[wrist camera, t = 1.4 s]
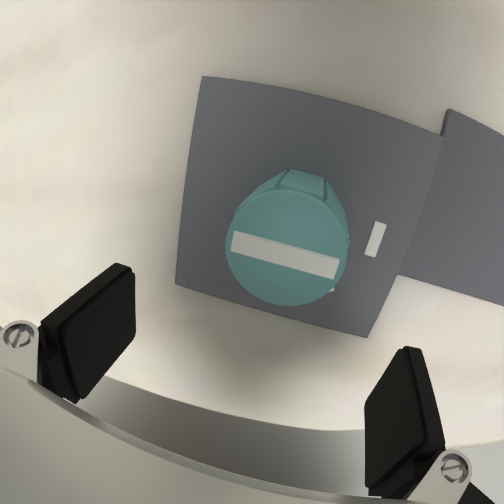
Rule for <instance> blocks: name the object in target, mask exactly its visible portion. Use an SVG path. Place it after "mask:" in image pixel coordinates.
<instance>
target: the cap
mask: <svg viewBox="0 0 504 504" xmlns="http://www.w3.org/2000/svg"><path fill="white" fill-rule="evenodd" d="M349 243H350V240H349V232H348V226H347V220H346V215H345V210H344V208H343V206H342V204H341V202H340V201H339V199H338V197H337V195H336V194H335V192H334V190H333V189H332V187H331V185H330V183H329V182H328V180H327V181H325V182H324V177H320V176H316V175H313V174H309V173H305V172H301V171H297V170H293V169H290V170H289V172H288V171H287V169H286V170H285V171H283V172H281V173H280V174H278V175H276V176H275V177H273V178H271V179H270V180H268V181H266V182H265V183H263V184H261V185H260V186H258V187H257V188H256V189H255V190H254V191H253V192H252V193H251V194H250V195H249V196H248V197H247V198H246V199H245V200H244V201H243V202H242V203H241V204H240V206H239V207H238V209H237V210H236V211H235V215H234V219H233V220H232V222H231V224H230V226H229V229H228V232H227V236H226V243H225V249H226V257H227V261H228V264H229V267H230V269H231V271H232V273H233V275H234V276H235V278H236V279H237V281H238V282H239V283H240V284H241V285H242V286H243V287H244V288H245V289H246V290H247V291H248V292H250V293H251V294H252V295H254V296H256V297H257V298H259V299H261V300H263V301H266V302H269V303H272V304H276V305H283V306H296V305H303V304H307V303H310V302H313V301H315V300H317V299H319V298H321V297H323V296H324V295H325V294H327V293H328V292H329V291H330V290H331V289H332V288H333V287H334V286H335V285H336V284H337V282H338V281H339V279H340V278H341V276H342V273H343V271H344V268H345V265H346V260H347V249H348V246H349Z"/></svg>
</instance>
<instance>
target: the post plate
mask: <svg viewBox="0 0 504 504" xmlns="http://www.w3.org/2000/svg"><path fill="white" fill-rule="evenodd" d="M443 138H444V137H442V136H440V135H437V134H435V133H433V132H430V131H428V130H425V129H423V128H420V127H417V126H415V125H412V124H409V123H407V122H404V121H401V120H398V119H396V118H393V117H390V116H387V115H384V114H381V113H378V112H375V111H371V110H368V109H365V108H362V107H358V106H355V105H352V104H348V103H344V102H341V101H337V100H333V99H329V98H326V97H322V96H317V95H313V94H309V93H305V92H300V91H296V90H291V89H286V88H281V87H276V86H270V85H265V84H259V83H253V82H247V81H240V80H233V79H225V78H217V77H208V76H202V79H201V85H200V90H199V95H198V101H197V107H196V113H195V119H194V125H193V131H192V137H191V144H190V151H189V158H188V165H187V172H186V180H185V188H184V196H183V204H182V213H181V223H180V232H179V243H178V254H177V266H176V278H175V284H177V285H180V286H183V287H186V288H189V289H192V290H195V291H199V292H202V293H205V294H208V295H211V296H215V297H218V298H221V299H225V300H228V301H231V302H234V303H238V304H241V305H245V306H248V307H251V308H255V309H258V310H262V311H265V312H269V313H272V314H276V315H279V316H283V317H287V318H290V319H294V320H298V321H301V322H305V323H309V324H313V325H316V326H320V327H324V328H328V329H332V330H336V331H340V332H344V333H348V334H352V335H356V336H360V337H364V338H367V337H368V335H369V333H370V331H371V329H372V327H373V325H374V323H375V321H376V319H377V317H378V315H379V313H380V311H381V309H382V307H383V305H384V302H385V300H386V298H387V296H388V294H389V292H390V289H391V287H392V285H393V283H394V280H395V278H396V276H397V273H398V271H399V269H400V266H401V264H402V261H403V259H404V257H405V254H406V252H407V249H408V246H409V244H410V241H411V239H412V236H413V233H414V231H415V228H416V225H417V223H418V220H419V217H420V214H421V211H422V208H423V206H424V203H425V200H426V197H427V193H428V190H429V187H430V184H431V181H432V178H433V174H434V171H435V168H436V164H437V161H438V157H439V153H440V150H441V146H442V142H443ZM286 169H287V171H288V172H289V170H290V169H293V170H297V171H301V172H305V173H309V174H313V175H316V176H320V177H324V182H325V181H327V180H328V182H329V183H330V185H331V187H332V189H333V190H334V192H335V194H336V195H337V197H338V199H339V201H340V202H341V204H342V206H343V208H344V210H345V215H346V220H347V226H348V232H349V240H350V243H349V246H348V249H347V260H346V265H345V268H344V271H343V273H342V276H341V278H340V279H339V281H338V282H337V284H336V285H335V286H334V287H333V288H332V289H331V290H330V291H329V292H328V293H327V294H325V295H324V296H323V297H321V298H319V299H317V300H315V301H313V302H310V303H307V304H303V305H296V306H283V305H276V304H272V303H269V302H266V301H263V300H261V299H259V298H257V297H256V296H254V295H252V294H251V293H250V292H248V291H247V290H246V289H245V288H244V287H243V286H242V285H241V284H240V283H239V282H238V281H237V279H236V278H235V276H234V275H233V273H232V271H231V269H230V267H229V264H228V261H227V257H226V249H225V243H226V236H227V232H228V229H229V226H230V224H231V222H232V220H233V219H234V215H235V211H236V210H237V209H238V207H239V206H240V204H241V203H242V202H243V201H244V200H245V199H246V198H247V197H248V196H249V195H250V194H251V193H252V192H253V191H254V190H255V189H256V188H257V187H258V186H260V185H261V184H263V183H265V182H266V181H268V180H270V179H271V178H273V177H275V176H276V175H278V174H280V173H281V172H283V171H285V170H286Z"/></svg>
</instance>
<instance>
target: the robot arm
mask: <svg viewBox="0 0 504 504" xmlns="http://www.w3.org/2000/svg"><path fill="white" fill-rule="evenodd" d="M135 334H136V316H135V274H134V273H133V272H132V269H131V268H130V267H128V266H125V265H122V264H119V263H114V264H113V265H111V266H110V267H109V268H107V269H106V270H105V271H104V272H102V273H101V274H100V275H98V276H97V277H96V278H94V279H93V280H92V281H90V282H89V283H88V284H87V285H85V286H84V287H83V288H81V289H80V290H79V291H78V292H76V293H75V294H74V295H73V296H71V297H70V298H69V299H68V300H66V301H65V302H64V303H63V304H61V305H60V306H59V307H58V308H56V309H55V310H54V311H53V312H51V313H50V314H49V315H48V316H47V317H45V318H44V319H43V320H42V321H41V325H40V326H39V327H38V328H37V327H36V325H34V324H33V323H31V322H29V321H23V320H20V321H14V322H12V323H9V324H8V325H6V326H5V327H4V328H3V329H2V331H1V333H0V504H495V503H494V502H492V500H490V499H489V498H488V497H487V496H486V495H485V494H483V493H482V492H481V491H480V490H479V489H478V488H477V487H475V486H474V485H473V484H472V483H471V482H470V479H471V476H472V466H471V463H470V461H469V460H468V458H467V457H466V456H465V455H464V454H463V453H461V452H459V451H457V450H453V449H451V450H446V449H445V439H444V434H443V429H442V425H441V420H440V416H439V412H438V408H437V404H436V400H435V396H434V392H433V388H432V384H431V381H430V377H429V374H428V370H427V367H426V363H425V360H424V357H423V354H422V351H421V349H419V348H414V347H409V346H405V347H403V349H399V350H398V351H397V352H396V354H395V355H394V357H393V359H392V360H391V362H390V364H389V365H388V367H387V369H386V370H385V372H384V374H383V375H382V377H381V378H380V380H379V381H378V383H377V385H376V386H375V388H374V389H373V391H372V392H371V394H370V395H369V397H368V398H367V400H366V402H365V406H364V416H365V486H366V487H368V488H369V493H368V495H369V496H381V498H369V497H358V496H348V495H339V494H332V493H323V492H317V491H311V490H305V489H299V488H294V487H289V486H283V485H278V484H274V483H270V482H265V481H261V480H257V479H253V478H249V477H245V476H242V475H238V474H234V473H231V472H228V471H224V470H221V469H218V468H215V467H211V466H208V465H205V464H202V463H199V462H197V461H194V460H191V459H188V458H185V457H182V456H180V455H177V454H175V453H172V452H169V451H167V450H165V449H162V448H160V447H157V446H155V445H153V444H150V443H148V442H146V441H143V440H141V439H139V438H137V437H134V436H132V435H130V434H128V433H126V432H124V431H122V430H119V429H118V428H115V427H113V426H111V425H109V424H108V423H106V422H104V421H102V420H100V419H98V418H96V417H94V416H92V415H90V414H89V413H87V412H85V411H83V410H81V409H80V408H78V407H76V406H74V405H73V404H71V403H69V402H67V401H66V400H64V399H63V397H64V398H66V399H67V400H69V401H71V402H72V403H74V404H76V403H77V402H78V401H79V400H80V398H81V399H84V398H86V397H87V395H88V394H89V393H90V392H91V390H92V389H93V388H94V386H95V385H96V384H97V383H98V382H99V381H100V379H101V378H102V377H103V376H104V374H105V373H106V372H107V371H108V369H109V368H110V367H111V366H112V365H113V363H114V362H115V361H116V360H117V358H118V357H119V356H120V355H121V354H122V352H123V351H124V350H125V349H126V348H127V346H128V345H129V344H130V343H131V342H132V340H133V339H134V337H135Z"/></svg>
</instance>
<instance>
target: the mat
mask: <svg viewBox="0 0 504 504" xmlns="http://www.w3.org/2000/svg"><path fill="white" fill-rule="evenodd" d="M441 136H442V137H444V138H443V142H442V146H441V150H440V153H439V157H438V161H437V164H436V168H435V171H434V174H433V178H432V181H431V184H430V187H429V190H428V193H427V197H426V200H425V203H424V206H423V208H422V211H421V214H420V217H419V220H418V223H417V225H416V228H415V231H414V233H413V236H412V239H411V241H410V244H409V246H408V249H407V252H406V254H405V257H404V259H403V261H402V264H401V266H400V269H399V271H398V273H397V274H399V275H402V276H406V277H409V278H413V279H416V280H420V281H423V282H426V283H430V284H433V285H436V286H440V287H443V288H447V289H450V290H453V291H457V292H460V293H463V294H466V295H470V296H473V297H476V298H480V299H483V300H486V301H489V302H493V303H496V304H499V305H502V306H504V136H503V135H501V134H500V133H498V132H496V131H494V130H492V129H490V128H489V127H487V126H485V125H483V124H481V123H479V122H477V121H475V120H473V119H471V118H469V117H467V116H465V115H463V114H461V113H459V112H456V111H454V110H452V109H448V110H447V114H446V119H445V123H444V127H443V131H442V135H441Z"/></svg>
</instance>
